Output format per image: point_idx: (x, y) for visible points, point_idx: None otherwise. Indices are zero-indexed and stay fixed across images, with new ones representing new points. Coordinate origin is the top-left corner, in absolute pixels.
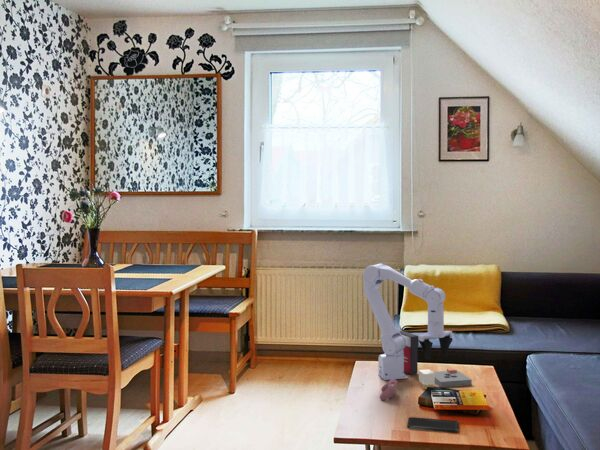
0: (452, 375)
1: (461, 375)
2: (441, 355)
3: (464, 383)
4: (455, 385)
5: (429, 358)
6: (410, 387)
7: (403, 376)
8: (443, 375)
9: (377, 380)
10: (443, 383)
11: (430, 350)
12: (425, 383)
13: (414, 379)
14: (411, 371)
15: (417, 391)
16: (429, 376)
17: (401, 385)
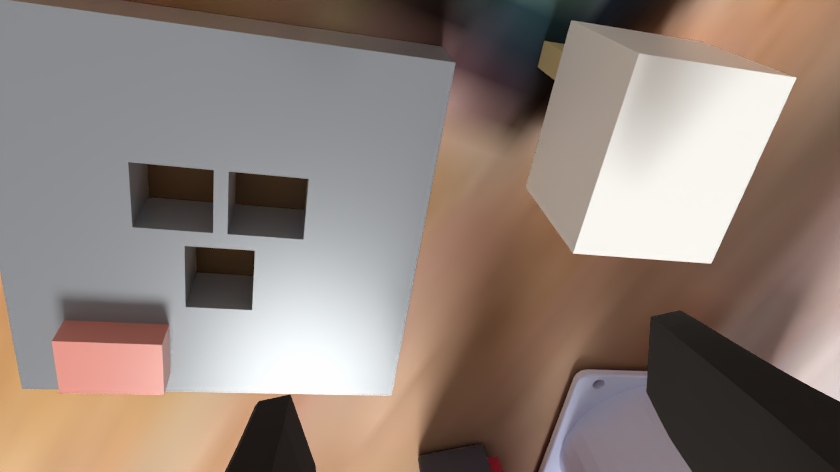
0: (170, 241)
1: (43, 208)
2: (314, 466)
3: (98, 2)
4: (243, 19)
5: (695, 322)
6: None
7: (599, 399)
8: (284, 268)
9: None
10: (415, 50)
11: (814, 435)
12: (695, 42)
13: (532, 341)
14: (488, 465)
15: (757, 14)
16: (692, 55)
17: (745, 232)
